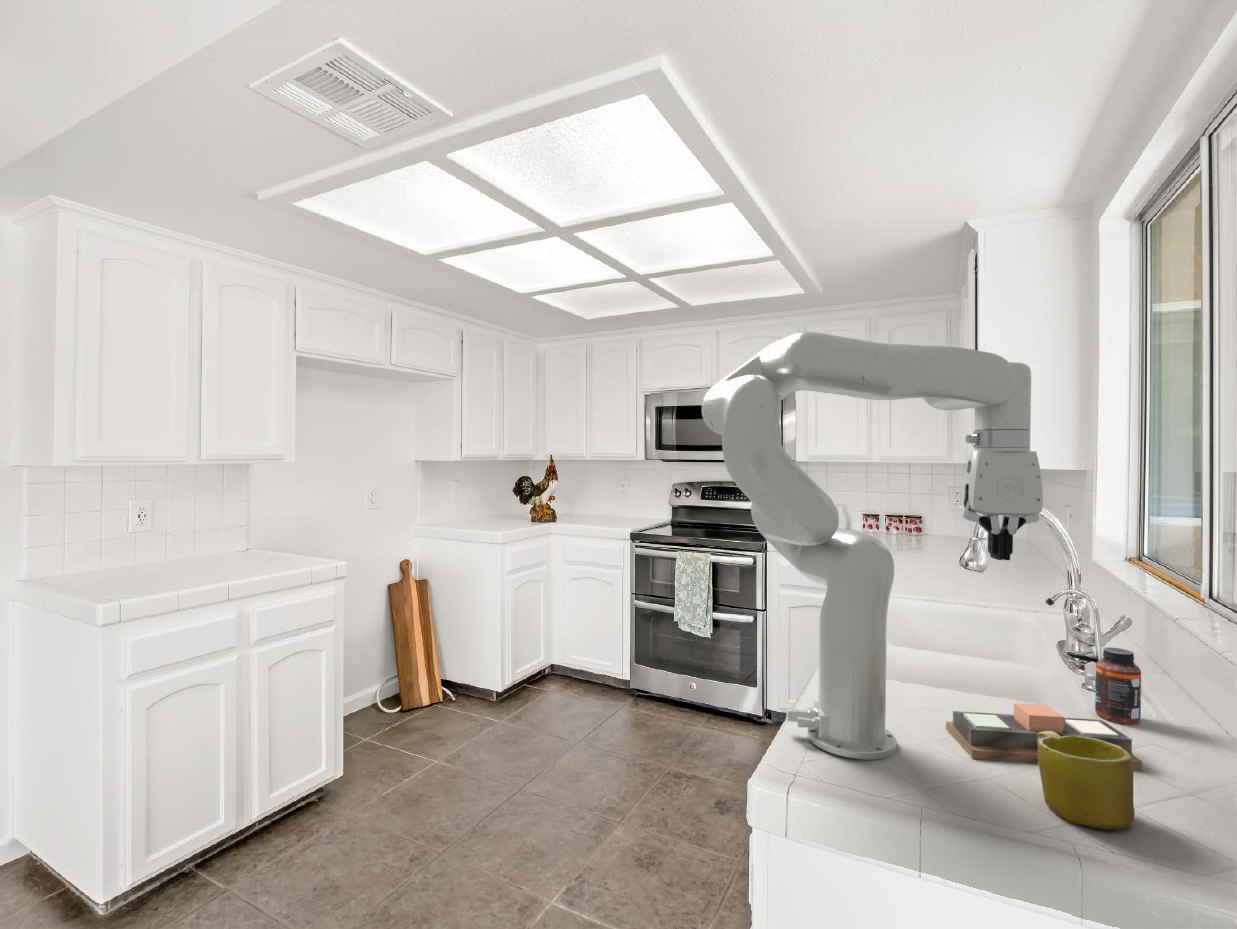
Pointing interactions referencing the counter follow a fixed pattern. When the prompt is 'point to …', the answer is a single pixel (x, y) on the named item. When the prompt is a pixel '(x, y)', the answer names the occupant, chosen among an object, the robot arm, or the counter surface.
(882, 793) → the counter surface
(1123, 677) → the supplement bottle
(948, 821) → the counter surface
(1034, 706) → the key terracotta
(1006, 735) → the key panel
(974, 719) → the key sage
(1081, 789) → the mug
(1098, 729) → the key cream
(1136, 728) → the counter surface
